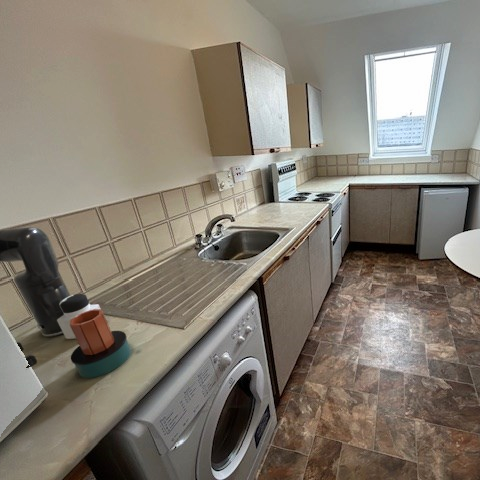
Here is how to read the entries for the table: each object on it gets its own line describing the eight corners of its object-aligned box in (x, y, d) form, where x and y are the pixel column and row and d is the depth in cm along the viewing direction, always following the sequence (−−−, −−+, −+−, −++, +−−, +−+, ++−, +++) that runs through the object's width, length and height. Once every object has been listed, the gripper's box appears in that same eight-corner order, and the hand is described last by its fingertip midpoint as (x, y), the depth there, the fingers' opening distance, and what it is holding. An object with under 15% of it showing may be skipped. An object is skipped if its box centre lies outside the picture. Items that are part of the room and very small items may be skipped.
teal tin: (79, 359, 71) (71, 345, 69) (129, 338, 77) (123, 324, 76) (77, 387, 62) (69, 371, 61) (134, 361, 69) (128, 346, 67)
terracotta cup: (84, 345, 69) (70, 316, 65) (113, 333, 72) (101, 306, 69) (83, 358, 64) (68, 328, 61) (115, 345, 68) (102, 316, 64)
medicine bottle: (107, 322, 86) (93, 290, 81) (89, 337, 79) (73, 303, 75) (84, 324, 86) (70, 292, 81) (65, 339, 79) (48, 305, 75)
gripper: (-119, 419, 39) (32, 347, 52) (-126, 383, 46) (10, 328, 59) (-90, 453, 41) (48, 377, 55) (-100, 414, 48) (24, 355, 61)
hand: (28, 351), depth 57 cm, fingers open, 8 cm apart
